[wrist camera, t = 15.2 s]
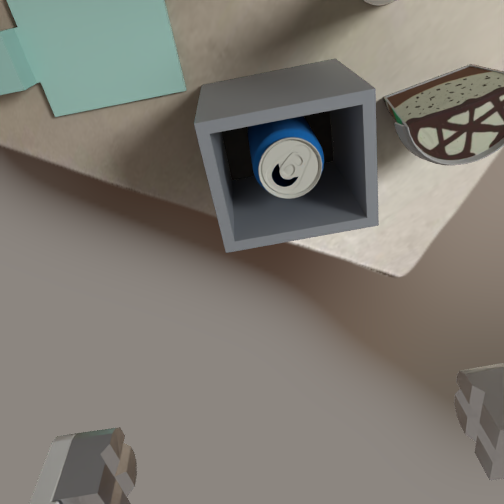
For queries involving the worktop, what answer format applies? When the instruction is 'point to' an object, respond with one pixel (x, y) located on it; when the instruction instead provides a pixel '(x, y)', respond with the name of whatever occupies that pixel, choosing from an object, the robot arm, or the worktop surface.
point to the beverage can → (285, 157)
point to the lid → (90, 52)
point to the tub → (334, 173)
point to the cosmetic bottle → (379, 2)
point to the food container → (452, 115)
